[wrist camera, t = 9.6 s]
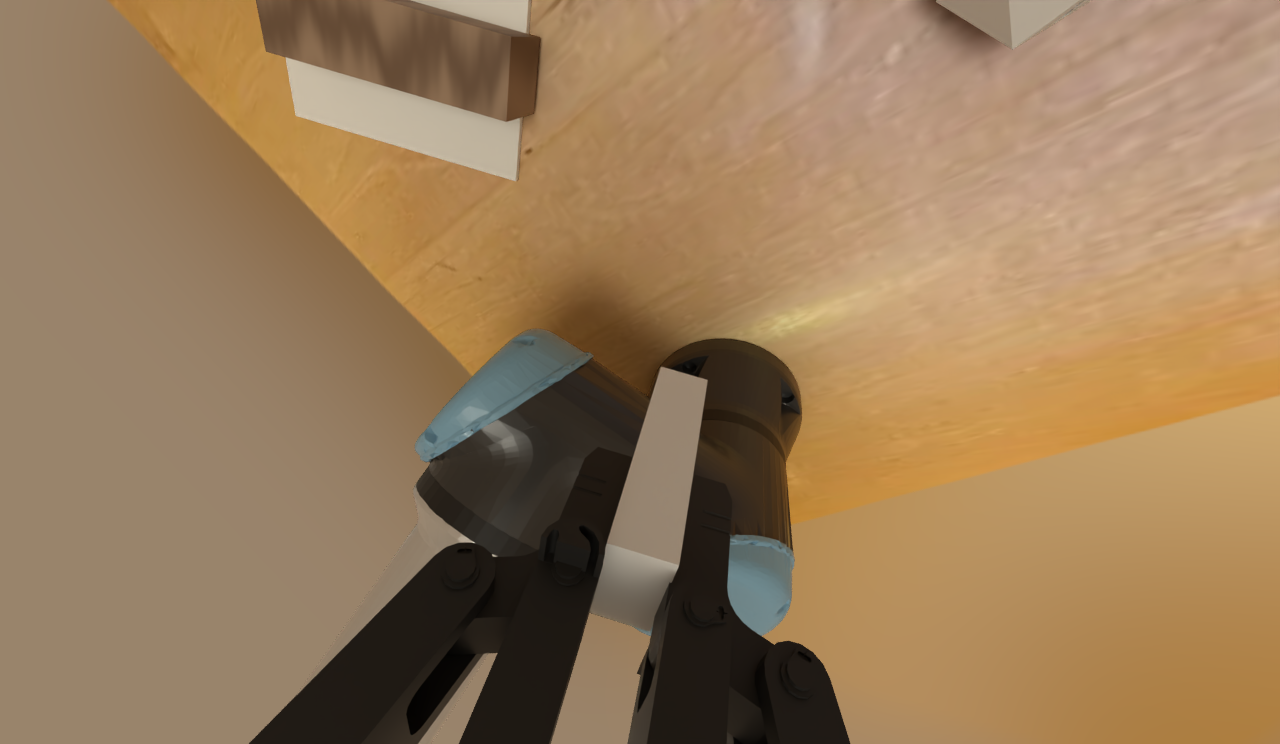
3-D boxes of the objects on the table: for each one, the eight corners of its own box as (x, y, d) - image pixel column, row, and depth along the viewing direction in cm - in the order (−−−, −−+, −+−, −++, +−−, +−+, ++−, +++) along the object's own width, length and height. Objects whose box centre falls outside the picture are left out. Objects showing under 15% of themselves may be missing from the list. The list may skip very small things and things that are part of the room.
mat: (518, 180, 41) (515, 181, 41) (300, 115, 42) (295, 115, 42) (536, -66, 32) (533, -67, 32) (255, -144, 33) (249, -146, 32)
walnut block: (506, 121, 34) (266, 51, 34) (533, 113, 38) (318, 50, 38) (511, 36, 31) (248, -39, 31) (540, 37, 35) (306, -30, 36)
